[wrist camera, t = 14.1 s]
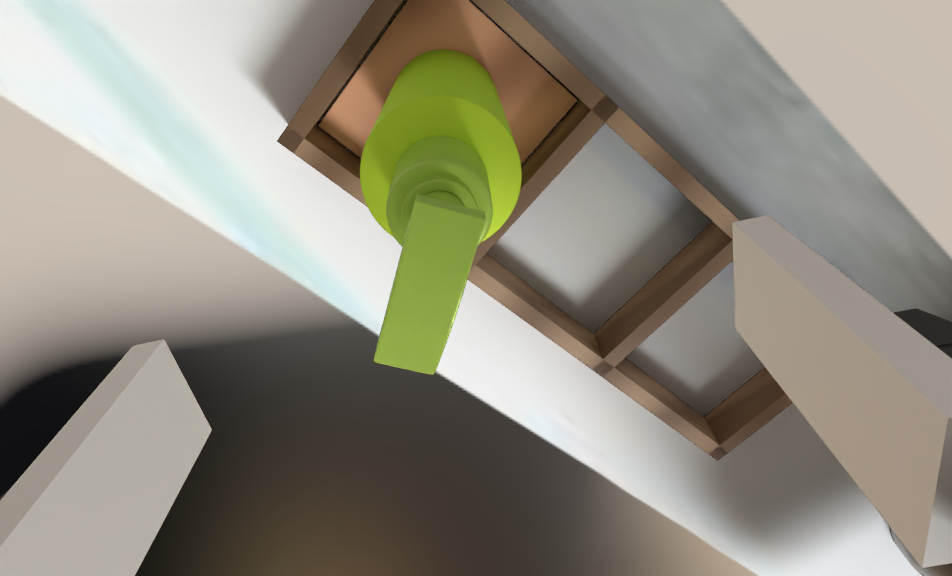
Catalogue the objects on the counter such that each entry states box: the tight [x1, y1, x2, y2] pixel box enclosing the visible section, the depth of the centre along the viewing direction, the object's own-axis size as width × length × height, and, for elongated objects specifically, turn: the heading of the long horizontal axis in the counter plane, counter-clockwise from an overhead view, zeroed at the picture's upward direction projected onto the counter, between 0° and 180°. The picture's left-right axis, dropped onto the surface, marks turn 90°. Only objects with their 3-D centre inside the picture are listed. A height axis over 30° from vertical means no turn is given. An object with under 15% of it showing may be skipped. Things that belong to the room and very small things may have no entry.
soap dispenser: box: [360, 49, 522, 374], centre depth 25 cm, size 6×7×20 cm
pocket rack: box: [277, 0, 793, 461], centre depth 37 cm, size 36×12×3 cm, turn 50°
